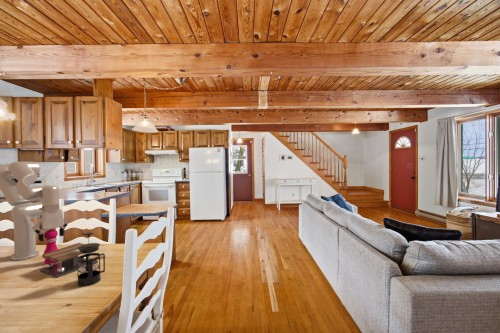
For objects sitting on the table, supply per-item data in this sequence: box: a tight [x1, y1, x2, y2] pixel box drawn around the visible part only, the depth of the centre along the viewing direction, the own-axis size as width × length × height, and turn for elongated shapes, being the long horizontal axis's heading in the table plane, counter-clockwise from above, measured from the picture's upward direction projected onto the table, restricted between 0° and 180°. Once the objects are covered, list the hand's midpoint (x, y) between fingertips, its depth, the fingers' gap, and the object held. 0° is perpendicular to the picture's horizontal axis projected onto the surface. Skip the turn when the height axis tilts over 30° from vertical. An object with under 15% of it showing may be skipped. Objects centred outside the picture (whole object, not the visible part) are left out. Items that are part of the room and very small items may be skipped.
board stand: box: [39, 255, 99, 279], centre depth 131 cm, size 16×20×6 cm
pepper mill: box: [43, 228, 59, 265], centre depth 137 cm, size 7×7×20 cm
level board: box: [41, 242, 85, 263], centre depth 131 cm, size 15×18×2 cm
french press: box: [76, 231, 106, 287], centre depth 115 cm, size 12×9×23 cm
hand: (51, 238), depth 136 cm, fingers open, 9 cm apart
